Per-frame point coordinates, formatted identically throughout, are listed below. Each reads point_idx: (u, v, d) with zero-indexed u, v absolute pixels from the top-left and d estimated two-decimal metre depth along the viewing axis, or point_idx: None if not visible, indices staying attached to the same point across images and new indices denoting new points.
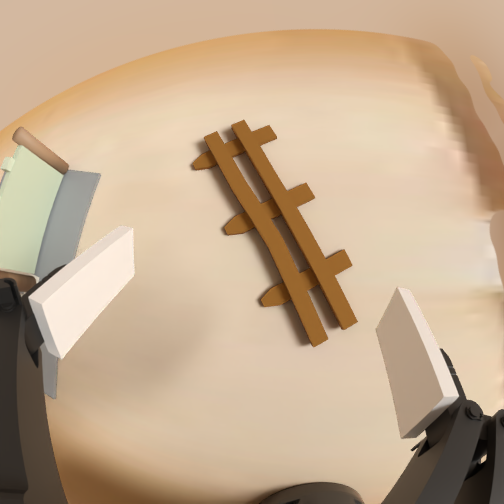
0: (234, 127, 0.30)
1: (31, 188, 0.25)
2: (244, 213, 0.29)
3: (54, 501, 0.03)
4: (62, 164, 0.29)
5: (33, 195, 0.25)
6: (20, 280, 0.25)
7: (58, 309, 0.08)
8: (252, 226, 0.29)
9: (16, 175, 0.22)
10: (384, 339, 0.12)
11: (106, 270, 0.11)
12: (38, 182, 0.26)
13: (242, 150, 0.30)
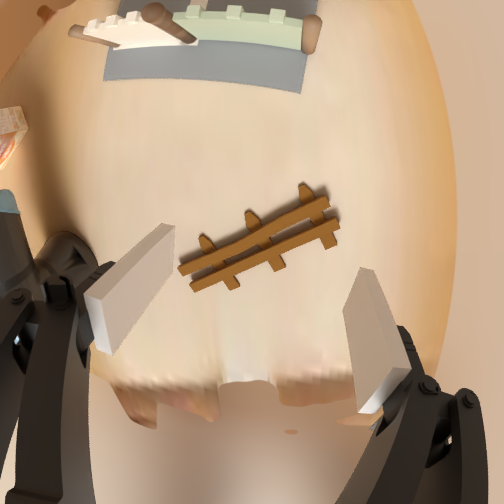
0: (333, 220, 0.37)
1: (268, 34, 0.24)
2: (260, 225, 0.40)
3: None
4: (308, 51, 0.27)
5: (263, 35, 0.25)
6: (183, 37, 0.27)
7: (114, 305, 0.09)
8: (251, 231, 0.41)
9: (269, 26, 0.21)
10: (349, 318, 0.13)
11: (153, 267, 0.12)
12: (278, 37, 0.25)
13: (313, 224, 0.39)
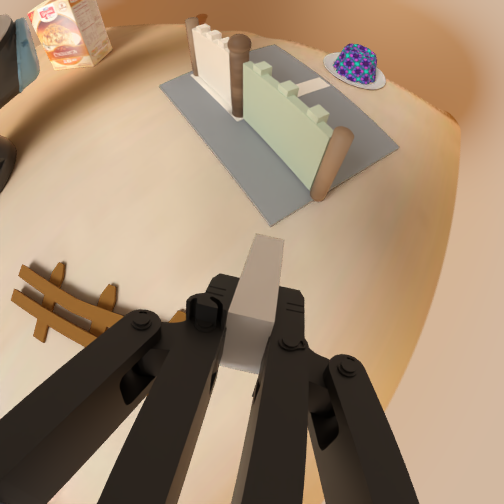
0: None
1: (295, 141, 0.27)
2: (110, 309, 0.27)
3: None
4: (315, 192, 0.29)
5: (290, 141, 0.28)
6: (235, 100, 0.32)
7: None
8: (98, 305, 0.27)
9: (303, 122, 0.24)
10: None
11: None
12: (301, 152, 0.28)
13: None
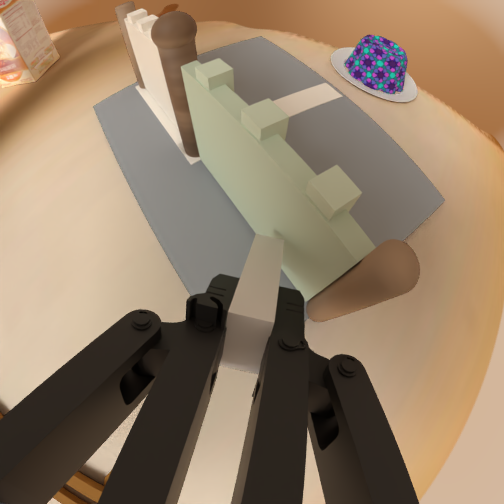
0: None
1: (282, 228, 0.14)
2: None
3: None
4: (315, 315, 0.16)
5: (273, 225, 0.15)
6: (183, 130, 0.19)
7: None
8: None
9: (297, 206, 0.11)
10: None
11: None
12: (292, 250, 0.15)
13: None
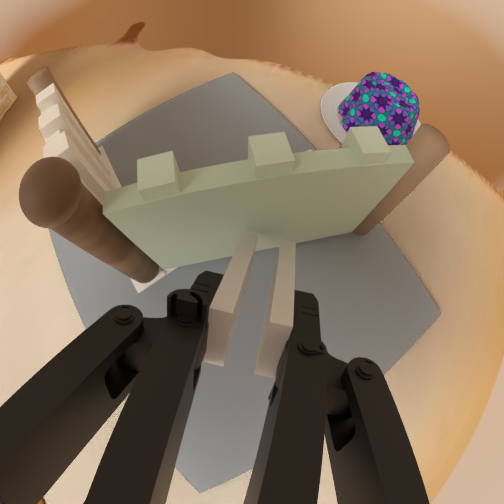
0: None
1: (323, 211, 0.15)
2: None
3: None
4: (372, 227, 0.18)
5: (308, 219, 0.15)
6: (118, 270, 0.15)
7: (233, 316, 0.10)
8: None
9: (349, 179, 0.12)
10: (270, 288, 0.14)
11: (247, 275, 0.13)
12: (336, 214, 0.15)
13: None
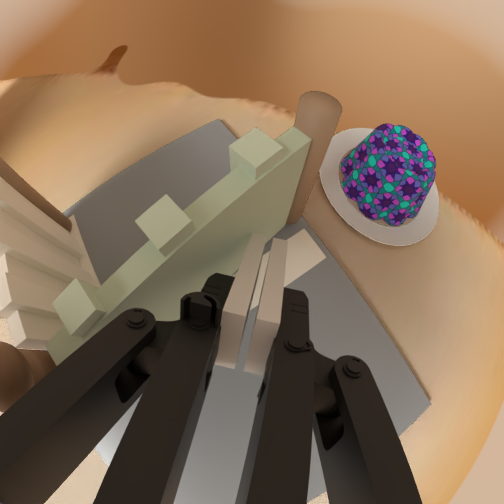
0: None
1: (247, 232, 0.14)
2: None
3: None
4: (302, 211, 0.18)
5: (238, 246, 0.15)
6: None
7: (246, 319, 0.10)
8: None
9: (255, 196, 0.11)
10: (262, 286, 0.14)
11: None
12: (262, 225, 0.15)
13: None
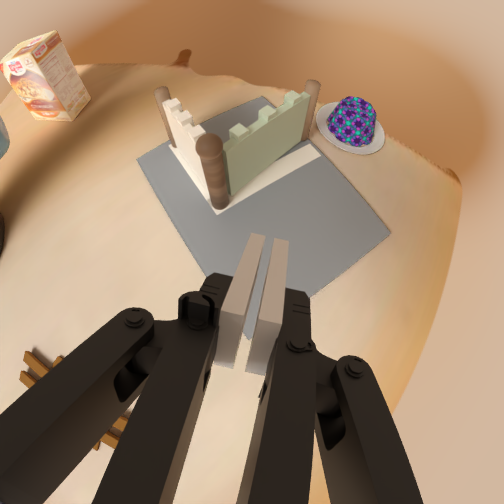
0: None
1: (287, 131, 0.33)
2: None
3: None
4: (308, 133, 0.37)
5: (283, 137, 0.34)
6: (212, 196, 0.32)
7: (244, 318, 0.10)
8: None
9: (292, 112, 0.30)
10: (263, 286, 0.14)
11: (255, 277, 0.13)
12: (292, 131, 0.34)
13: None
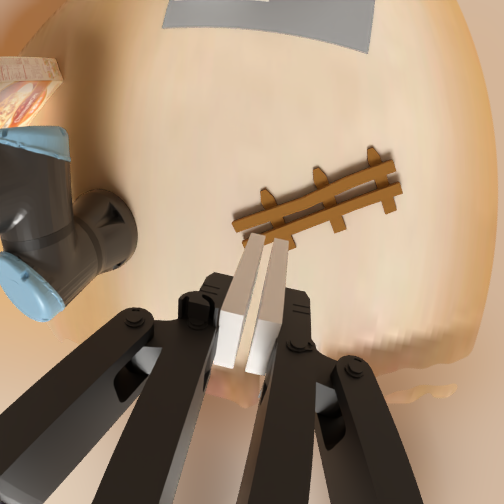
0: (397, 185, 0.35)
1: None
2: (327, 183, 0.38)
3: None
4: None
5: None
6: None
7: (244, 318, 0.10)
8: (317, 188, 0.38)
9: None
10: (263, 286, 0.14)
11: (255, 277, 0.13)
12: None
13: (378, 187, 0.37)
